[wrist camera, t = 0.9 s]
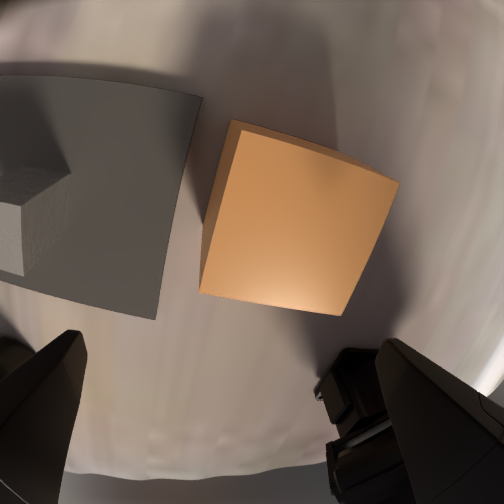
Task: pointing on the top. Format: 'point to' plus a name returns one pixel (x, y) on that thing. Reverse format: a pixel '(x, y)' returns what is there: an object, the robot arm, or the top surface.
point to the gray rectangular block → (31, 215)
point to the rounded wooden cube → (290, 221)
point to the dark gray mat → (101, 182)
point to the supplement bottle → (12, 355)
